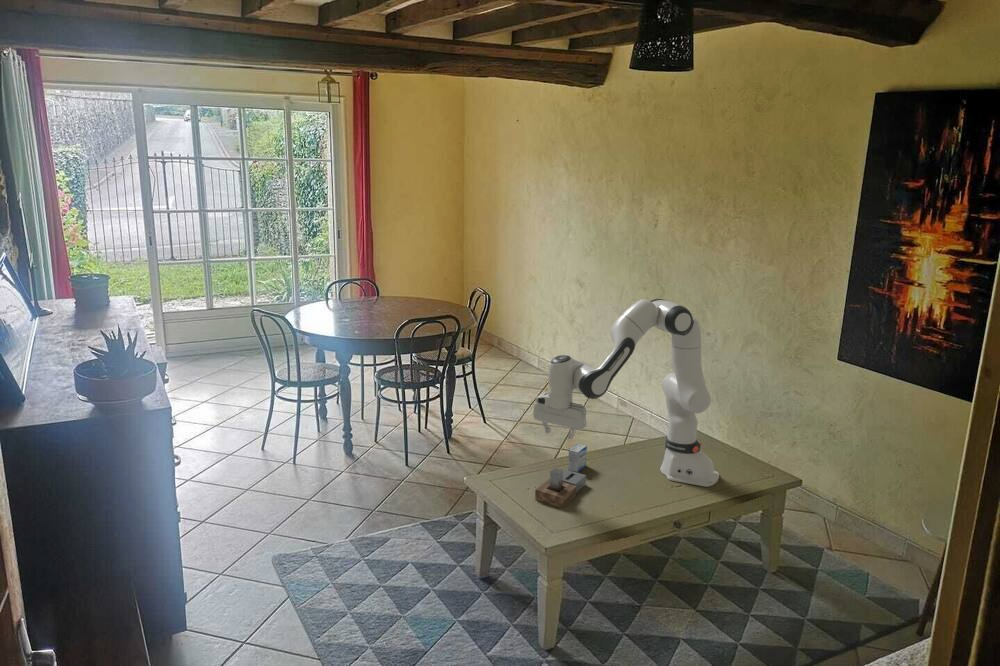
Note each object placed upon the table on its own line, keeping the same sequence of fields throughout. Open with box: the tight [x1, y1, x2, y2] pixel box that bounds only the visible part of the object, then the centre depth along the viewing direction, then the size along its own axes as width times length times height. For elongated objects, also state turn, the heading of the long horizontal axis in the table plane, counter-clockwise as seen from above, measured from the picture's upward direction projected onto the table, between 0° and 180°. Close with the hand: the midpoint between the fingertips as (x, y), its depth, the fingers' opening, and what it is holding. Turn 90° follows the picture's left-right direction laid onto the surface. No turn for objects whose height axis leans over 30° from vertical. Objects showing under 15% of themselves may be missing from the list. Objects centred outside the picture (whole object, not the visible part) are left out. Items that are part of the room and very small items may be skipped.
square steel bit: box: [549, 467, 564, 492], centre depth 260 cm, size 3×3×10 cm
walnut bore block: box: [534, 478, 577, 509], centre depth 261 cm, size 11×11×4 cm
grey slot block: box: [562, 468, 587, 494], centre depth 270 cm, size 9×9×4 cm
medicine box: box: [567, 443, 588, 473], centre depth 285 cm, size 8×4×9 cm, turn 148°
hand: (559, 435), depth 260 cm, fingers open, 8 cm apart
